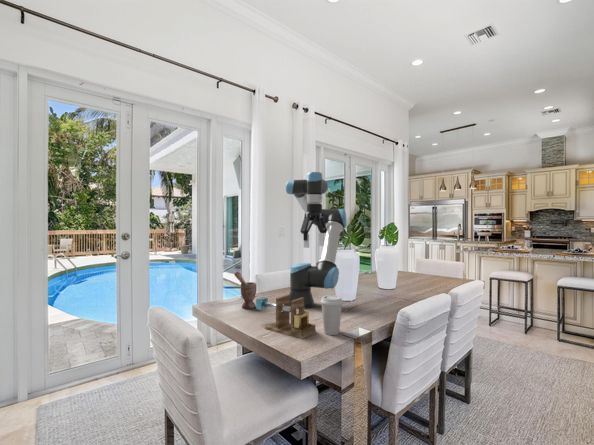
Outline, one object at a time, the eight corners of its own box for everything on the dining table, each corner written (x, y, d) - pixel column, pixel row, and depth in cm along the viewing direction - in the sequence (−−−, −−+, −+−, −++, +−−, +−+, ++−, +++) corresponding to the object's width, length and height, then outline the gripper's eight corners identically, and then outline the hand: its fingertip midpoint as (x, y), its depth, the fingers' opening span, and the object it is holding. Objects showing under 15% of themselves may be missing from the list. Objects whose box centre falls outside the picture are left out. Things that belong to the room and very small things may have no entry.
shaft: (256, 308, 144) (256, 298, 144) (262, 306, 147) (263, 297, 147) (290, 317, 132) (290, 306, 132) (297, 314, 136) (297, 303, 135)
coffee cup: (318, 328, 137) (318, 294, 137) (340, 328, 138) (340, 294, 138) (322, 336, 127) (322, 300, 127) (345, 336, 128) (345, 299, 128)
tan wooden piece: (294, 332, 129) (294, 315, 129) (304, 327, 135) (304, 310, 135) (298, 334, 128) (298, 316, 128) (308, 329, 134) (308, 311, 134)
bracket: (265, 328, 137) (265, 296, 137) (279, 322, 145) (279, 292, 145) (302, 338, 125) (302, 304, 125) (315, 331, 133) (315, 299, 133)
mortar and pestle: (240, 311, 162) (240, 273, 162) (232, 307, 169) (232, 271, 169) (259, 307, 169) (259, 271, 169) (251, 304, 176) (251, 269, 176)
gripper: (306, 202, 141) (306, 248, 141) (333, 204, 161) (333, 245, 162) (293, 202, 146) (292, 247, 146) (321, 204, 166) (320, 244, 166)
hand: (314, 246), depth 154 cm, fingers open, 13 cm apart
